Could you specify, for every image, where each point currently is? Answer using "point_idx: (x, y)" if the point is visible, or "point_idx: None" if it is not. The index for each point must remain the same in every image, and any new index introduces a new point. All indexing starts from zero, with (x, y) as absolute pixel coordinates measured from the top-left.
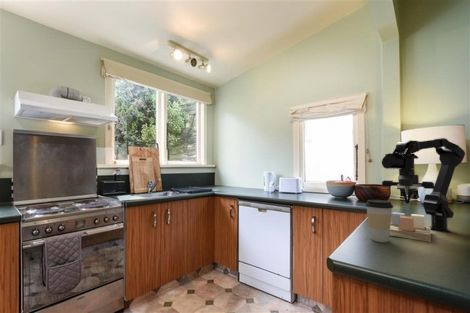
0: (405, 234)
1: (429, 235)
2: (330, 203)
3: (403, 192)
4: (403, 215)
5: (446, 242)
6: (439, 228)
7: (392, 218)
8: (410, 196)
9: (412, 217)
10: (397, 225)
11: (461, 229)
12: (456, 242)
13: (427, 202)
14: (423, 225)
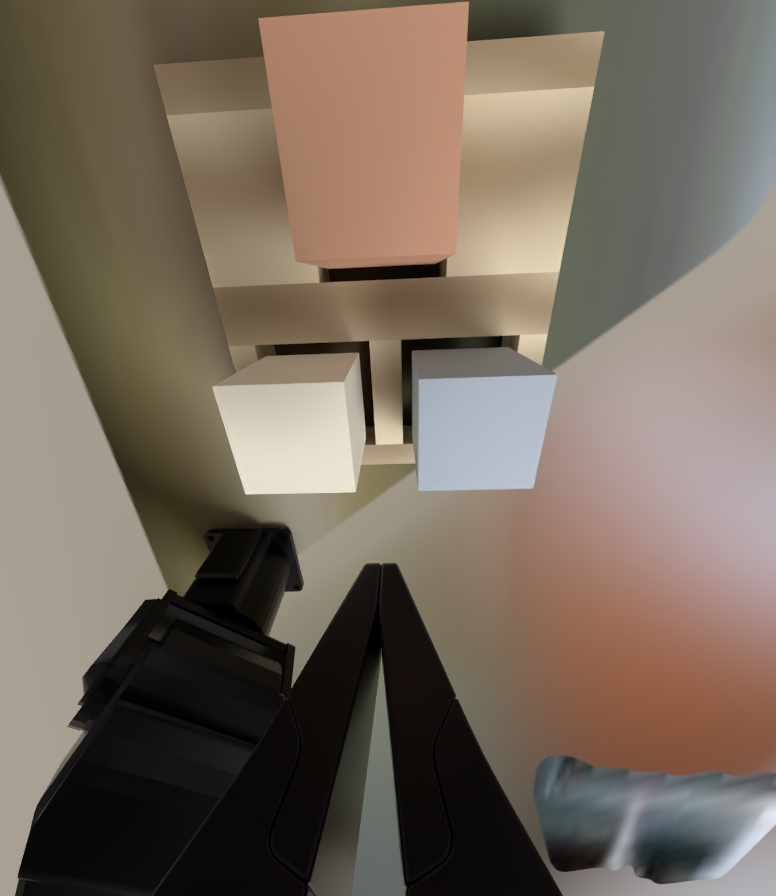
0: None
1: (166, 67)
2: (753, 802)
3: (486, 890)
4: (422, 376)
5: (116, 192)
6: (241, 533)
7: (524, 359)
8: (291, 707)
9: (298, 203)
10: (463, 349)
11: None
12: (80, 257)
13: (217, 736)
14: (262, 360)
